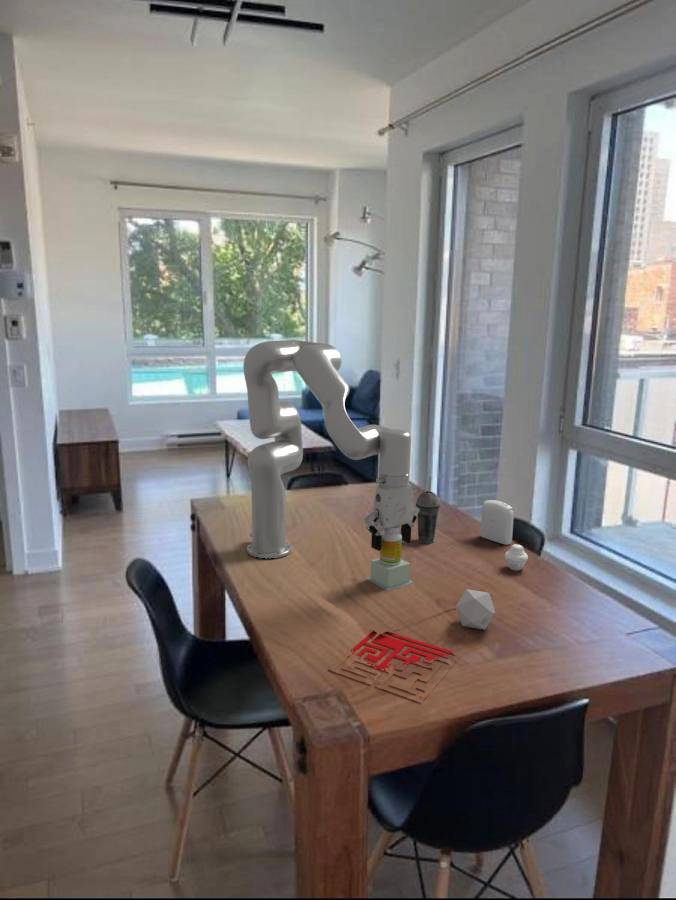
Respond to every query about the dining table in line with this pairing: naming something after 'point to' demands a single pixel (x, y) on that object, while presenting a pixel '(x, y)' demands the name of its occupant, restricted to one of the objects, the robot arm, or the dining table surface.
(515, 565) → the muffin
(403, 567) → the base block
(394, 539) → the supplement bottle
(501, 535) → the photo printer
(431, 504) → the beverage cup
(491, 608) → the die
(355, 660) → the dining table surface
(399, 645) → the maze puzzle
